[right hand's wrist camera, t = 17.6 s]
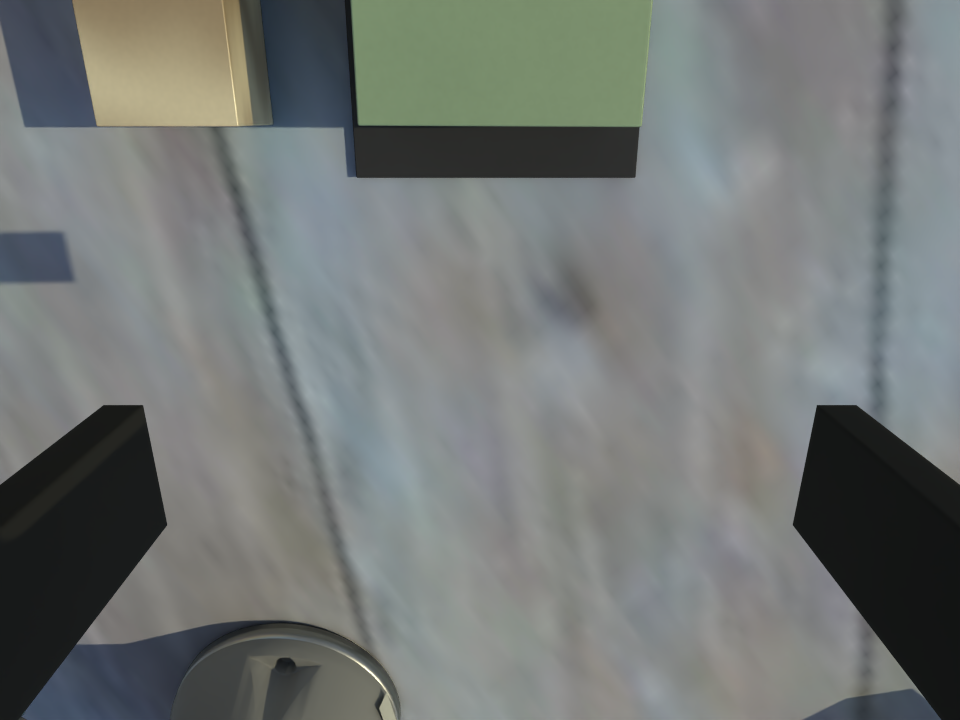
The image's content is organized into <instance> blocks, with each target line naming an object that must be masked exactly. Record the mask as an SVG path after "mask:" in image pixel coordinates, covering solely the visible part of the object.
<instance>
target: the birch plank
mask: <svg viewBox="0 0 960 720" xmlns="http://www.w3.org/2000/svg"><path fill="white" fill-rule="evenodd" d="M72 3H73V8H74V14H75V19H76V24H77V29H78V34H79V39H80V44H81V49H82V54H83V59H84V64H85V69H86V74H87V79H88V84H89V90H90V95H91V100H92V105H93V110H94V115H95V120H96V125H97V126H258V125H273V118H272V108H271V99H270V90H269V80H268V71H267V61H266V52H265V43H264V33H263V24H262V14H261V5H260V0H72Z"/></svg>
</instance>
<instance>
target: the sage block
mask: <svg viewBox="0 0 960 720" xmlns="http://www.w3.org/2000/svg"><path fill="white" fill-rule="evenodd" d="M652 2H653V0H351V17H352V34H353V51H354V69H355V86H356V103H357V120H358V125H360V126H540V127H641V125H642V116H643V105H644V94H645V82H646V71H647V59H648V48H649V36H650V25H651V14H652Z"/></svg>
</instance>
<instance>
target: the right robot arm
mask: <svg viewBox="0 0 960 720" xmlns="http://www.w3.org/2000/svg"><path fill="white" fill-rule="evenodd" d="M166 526H167V522H166V517H165V512H164V507H163V502H162V497H161V492H160V487H159V482H158V477H157V472H156V467H155V462H154V457H153V452H152V447H151V442H150V438H149V433H148V428H147V423H146V418H145V413H144V408H143V405H103V406H102V407H101V408H99V409H98V410H97V411H96V412H94V413H93V414H92V415H90V416H89V417H88V418H86V419H85V420H84V421H83V422H81V423H80V424H79V425H77V426H76V427H75V428H73V429H72V430H71V431H70V432H68V433H67V434H66V435H64V436H63V437H62V438H61V439H59V440H58V441H57V442H55V443H54V444H53V445H51V446H50V447H49V448H48V449H46V450H45V451H44V452H42V453H41V454H40V455H38V456H37V457H36V458H35V459H33V460H32V461H31V462H29V463H28V464H27V465H25V466H24V467H23V468H22V469H20V470H19V471H18V472H16V473H15V474H14V475H12V476H11V477H10V478H9V479H7V480H6V481H5V482H3V483H2V484H1V485H0V720H26V719H24V718H23V717H21V716H22V715H23V714H24V713H25V710H26V709H27V708H28V707H29V705H30V704H31V703H32V701H33V700H34V699H35V697H36V696H37V695H38V693H39V692H40V691H41V689H42V688H43V687H44V686H45V684H46V683H47V682H48V680H49V679H50V678H51V676H52V675H53V674H54V672H55V671H56V670H57V669H58V667H59V666H60V665H61V663H62V662H63V661H64V659H65V658H66V657H67V655H68V654H69V653H70V652H71V650H72V649H73V648H74V646H75V645H76V644H77V642H78V641H79V640H80V638H81V637H82V636H83V635H84V633H85V632H86V631H87V629H88V628H89V627H90V625H91V624H92V623H93V621H94V620H95V619H96V617H97V616H98V615H99V614H100V612H101V611H102V610H103V608H104V607H105V606H106V604H107V603H108V602H109V600H110V599H111V598H112V597H113V595H114V594H115V593H116V591H117V590H118V589H119V587H120V586H121V585H122V583H123V582H124V581H125V580H126V578H127V577H128V576H129V574H130V573H131V572H132V570H133V569H134V568H135V566H136V565H137V564H138V563H139V561H140V560H141V559H142V557H143V556H144V555H145V553H146V552H147V551H148V549H149V548H150V547H151V545H152V544H153V543H154V542H155V540H156V539H157V538H158V536H159V535H160V534H161V532H162V531H163V530H164V528H165V527H166ZM793 526H794V527H795V528H796V530H797V531H798V532H799V534H800V535H801V536H802V538H803V539H804V540H805V542H806V543H807V544H808V545H809V547H810V548H811V549H812V551H813V552H814V553H815V555H816V556H817V557H818V559H819V560H820V561H821V563H822V564H823V565H824V566H825V568H826V569H827V570H828V572H829V573H830V574H831V576H832V577H833V578H834V580H835V581H836V582H837V583H838V585H839V586H840V587H841V589H842V590H843V591H844V593H845V594H846V595H847V597H848V598H849V599H850V600H851V602H852V603H853V604H854V606H855V607H856V608H857V610H858V611H859V612H860V614H861V615H862V616H863V617H864V619H865V620H866V621H867V623H868V624H869V625H870V627H871V628H872V629H873V631H874V632H875V633H876V635H877V636H878V637H879V638H880V640H881V641H882V642H883V644H884V645H885V646H886V648H887V649H888V650H889V652H890V653H891V654H892V655H893V657H894V658H895V659H896V661H897V662H898V663H899V665H900V666H901V667H902V669H903V670H904V671H905V672H906V674H907V675H908V676H909V678H910V679H911V680H912V682H913V683H914V684H915V686H916V687H917V688H918V689H919V691H920V692H921V693H922V695H923V696H924V697H925V699H926V700H927V701H928V703H929V704H930V705H931V707H932V708H933V709H934V710H935V712H936V713H937V714H938V716H939V717H940V718H941V720H960V485H959V484H958V483H957V482H955V481H954V480H953V479H951V478H950V477H949V476H948V475H946V474H945V473H944V472H942V471H941V470H940V469H938V468H937V467H936V466H935V465H933V464H932V463H931V462H929V461H928V460H927V459H925V458H924V457H923V456H922V455H920V454H919V453H918V452H916V451H915V450H914V449H912V448H911V447H910V446H909V445H907V444H906V443H905V442H903V441H902V440H901V439H899V438H898V437H897V436H896V435H894V434H893V433H892V432H890V431H889V430H888V429H887V428H885V427H884V426H883V425H881V424H880V423H879V422H877V421H876V420H875V419H874V418H872V417H871V416H870V415H868V414H867V413H866V412H864V411H863V410H862V409H861V408H859V407H858V406H857V405H817V408H816V413H815V418H814V423H813V428H812V433H811V437H810V442H809V447H808V452H807V457H806V462H805V467H804V472H803V477H802V482H801V487H800V492H799V497H798V502H797V507H796V512H795V517H794V522H793ZM400 716H401V710H400V702H399V697H398V694H397V691H396V688H395V686H394V684H393V682H392V680H391V678H390V677H389V675H388V674H387V672H386V671H385V670H384V668H383V667H382V666H381V665H380V664H379V663H378V662H377V661H376V660H375V659H374V658H373V657H372V656H371V655H370V654H369V653H367V652H366V651H365V650H363V649H362V648H361V647H359V646H358V645H356V644H354V643H353V642H351V641H349V640H347V639H345V638H343V637H341V636H339V635H336V634H334V633H331V632H328V631H325V630H322V629H318V628H314V627H310V626H304V625H297V624H262V625H256V626H251V627H247V628H243V629H240V630H237V631H234V632H231V633H229V634H227V635H225V636H222V637H221V638H219V639H217V640H216V641H214V642H213V643H211V644H210V645H208V646H207V647H206V648H205V649H204V650H203V651H202V652H200V653H199V655H198V656H197V657H196V658H195V659H194V661H193V662H192V664H191V665H190V667H189V669H188V671H187V672H186V674H185V676H184V678H183V680H182V682H181V684H180V686H179V688H178V691H177V694H176V697H175V699H174V703H173V706H172V709H171V715H170V720H400Z"/></svg>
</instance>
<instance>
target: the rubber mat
mask: <svg viewBox="0 0 960 720" xmlns="http://www.w3.org/2000/svg"><path fill="white" fill-rule="evenodd" d="M345 9H346V25H347V40H348V55H349V71H350V86H351V101H352V117H353V132H354V147H355V163H356V177H357V178H634V177H635V174H636V162H637V149H638V137H639V127H540V126H360V125H358V120H357V103H356V86H355V69H354V51H353V34H352V17H351V0H345Z"/></svg>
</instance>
